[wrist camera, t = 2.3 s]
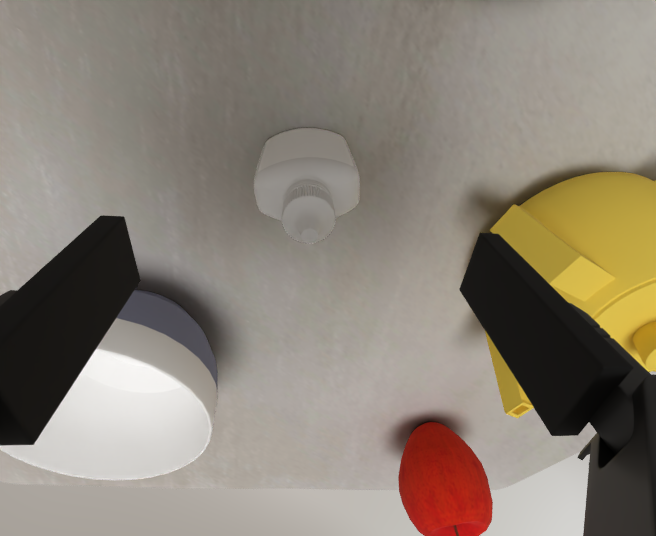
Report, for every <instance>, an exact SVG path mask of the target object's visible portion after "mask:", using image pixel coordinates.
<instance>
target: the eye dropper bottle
mask: <svg viewBox="0 0 656 536" xmlns="http://www.w3.org/2000/svg"><path fill="white" fill-rule="evenodd" d="M254 191H255V198H256V203H257V206H258V208H259V210H260V211H261V212H262V213H263V214H265V215H267V216H269V217H272V218H275V219H278V220H281V221H282V225H283V228H284V230H285V231H286V232H287V234H288V235H289V236H290V237H291V238H293V239H294V240H295V241H298V242H302V243H308V244H309V243H317V242H319V241H322V240H324V238H326V237H327V236H328V235H330V233H331V232H332V230H333V228H334V226H335V223H336V222H335V221H336V218H337V217H339V216H342V215H344V214H346V213H348V212H349V211H351V210H352V209H354V208H355V207H356V206H357V205H358V202H359V197H360V177H359V173H358V170H357V167H356V164H355V161H354V159H353V156H352V154H351V151H350V149H349V146H348V144H347V141H346V139H345V138H344V137H343V136H341V135H339V134H337V133H335V132H332V131H328V130H324V129H319V128H297V129H292V130H288V131H285V132H282V133H279V134H277V135H275V136H273V137H271V138H270V139H268V140H267V141H266V142H265V144H264V147H263V150H262V153H261V156H260V159H259V162H258V165H257V169H256V173H255V177H254Z"/></svg>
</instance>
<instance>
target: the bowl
mask: <svg viewBox="0 0 656 536" xmlns="http://www.w3.org/2000/svg"><path fill="white" fill-rule="evenodd" d="M217 399H218V394H217V366H216V360H215V357H214V355H213V352H212V350H211V348H210V345H209V343H208V340H207V338H206V336H205V334H204V332H203V330H202V329H201V328H200V326H199V325H198V324H197V322H196V321H195V320H194V319H192V318H191V317H190V316H189V315H188V313H187V312H186V311H185V310H184V309H183V308H182V307H181V306H179V305H178V304H177V303H175V302H173V301H172V300H170V299H168V298H166V297H164V296H162V295H159V294H155V293H152V292H148V291H141V290H134V292H133V293H132V295H131V296H130V298H129V299H128V301H127V302H126V304H125V305H124V307H123V308H122V310H121V311H120V313H119V315H118V316H117V318H116V319H115V321H114V322H113V324H112V325H111V327H110V328H109V330H108V331H107V333H106V334H105V336H104V338H103V339H102V341H101V342H100V344H99V345H98V347H97V348H96V350H95V351H94V353H93V354H92V356H91V358H90V359H89V361H88V362H87V364H86V365H85V367H84V368H83V370H82V371H81V373H80V374H79V376H78V377H77V379H76V381H75V382H74V384H73V385H72V387H71V388H70V390H69V391H68V393H67V394H66V396H65V397H64V399H63V400H62V402H61V404H60V405H59V407H58V408H57V410H56V411H55V413H54V414H53V416H52V417H51V419H50V420H49V422H48V423H47V425H46V427H45V428H44V430H43V431H42V433H41V434H40V436H39V437H38V439H37V440H36V442H35V443H34V445H1V446H0V450H2V451H3V452H5V453H7V454H8V455H10V456H12V457H14V458H17V459H19V460H21V461H23V462H26V463H28V464H30V465H33V466H36V467H39V468H43V469H46V470H49V471H52V472H56V473H61V474H65V475H69V476H74V477H81V478H88V479H99V480H135V479H142V478H150V477H155V476H159V475H163V474H167V473H170V472H172V471H175V470H177V469H180V468H182V467H184V466H186V465H187V464H189V463H191V462H192V461H194V460H195V459H196V458H197V457H198V456H199V455H200V454H201V453H202V452H203V451H204V450H205V449H206V447H207V445H208V443H209V441H210V440H211V438H212V431H213V425H214V418H215V412H216V405H217Z"/></svg>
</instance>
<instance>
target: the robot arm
mask: <svg viewBox="0 0 656 536" xmlns="http://www.w3.org/2000/svg"><path fill="white" fill-rule="evenodd" d="M139 282H140V277H139V273H138V269H137V265H136V261H135V257H134V253H133V249H132V245H131V242H130V238H129V234H128V230H127V226H126V222H125V218H124V217H121V216H100V217H99V218H98V219H97V220H95V221H94V222H93V223H92V224H91V225H90V226H89V227H88V228H87V229H85V230H84V231H83V232H82V233H81V234H80V235H79V236H78V237H77V238H75V239H74V240H73V241H72V242H71V243H70V244H69V245H68V246H67V247H65V248H64V249H63V250H62V251H61V252H60V253H59V254H58V255H57V256H55V257H54V258H53V259H52V260H51V261H50V262H49V263H48V264H47V265H45V266H44V267H43V268H42V269H41V270H40V271H39V272H38V273H37V274H35V275H34V276H33V277H32V278H31V279H30V280H29V281H28V282H27V283H25V284H24V285H23V286H22V287H21V288H20V289H19V290H18V291H14V290H10V291H8V292H6V293H4V294H2V295H1V296H0V446H1V445H34V443H35V442H36V440H37V439H38V437H39V436H40V434H41V433H42V431H43V430H44V428H45V427H46V425H47V423H48V422H49V420H50V419H51V417H52V416H53V414H54V413H55V411H56V410H57V408H58V407H59V405H60V404H61V402H62V400H63V399H64V397H65V396H66V394H67V393H68V391H69V390H70V388H71V387H72V385H73V384H74V382H75V381H76V379H77V377H78V376H79V374H80V373H81V371H82V370H83V368H84V367H85V365H86V364H87V362H88V361H89V359H90V358H91V356H92V354H93V353H94V351H95V350H96V348H97V347H98V345H99V344H100V342H101V341H102V339H103V338H104V336H105V334H106V333H107V331H108V330H109V328H110V327H111V325H112V324H113V322H114V321H115V319H116V318H117V316H118V315H119V313H120V311H121V310H122V308H123V307H124V305H125V304H126V302H127V301H128V299H129V298H130V296H131V295H132V293H133V292H134V290H135V288H136V287H137V285H138V284H139ZM460 291H461V293H462V294H463V296H464V298H465V299H466V301H467V302H468V304H469V306H470V307H471V309H472V310H473V312H474V313H475V315H476V317H477V318H478V320H479V321H480V323H481V325H482V326H483V328H484V329H485V331H486V332H487V334H488V336H489V337H490V339H491V340H492V342H493V344H494V345H495V347H496V348H497V350H498V351H499V353H500V355H501V356H502V358H503V359H504V361H505V362H506V364H507V366H508V367H509V369H510V370H511V372H512V374H513V375H514V377H515V378H516V380H517V381H518V383H519V385H520V386H521V388H522V389H523V391H524V393H525V394H526V396H527V397H528V399H529V400H530V402H531V404H532V405H533V407H534V408H535V410H536V412H537V413H538V415H539V416H540V418H541V419H542V421H543V423H544V424H545V426H546V427H547V429H548V431H549V432H550V434H551V435H552V436H569V435H578V434H579V433H580V432H581V431H582V429H583V428H584V427H585V426H586V425H587V423H588V422H590V424H591V425H592V426H593V428H594V429H595V430H596V432H597V434H596V435H595V436H594V437H593V438H592V439H591V440H590V442H589V443H588V444H587V445H586V446H585V447H584V448H583V450H582V451H581V452H580V454H579V456H578V458H579V459H581V460H583V459H584V458H585V456H586V455H588V454H590V462H589V475H588V487H587V498H586V510H585V522H584V535H583V536H656V375H651V374H650V373H649V372H648V371H647V370H646V369H645V368H644V367H643V366H642V365H641V364H640V363H639V362H637V361H636V360H635V359H634V358H633V357H632V356H631V355H630V354H629V353H628V352H627V351H626V350H625V349H624V348H623V347H622V346H621V345H620V344H619V343H618V342H617V341H616V340H615V339H614V338H610V335H609V334H608V333H607V332H606V331H605V330H604V329H603V328H600V325H599V324H598V323H597V322H596V321H595V320H594V319H593V318H592V317H591V316H590V315H589V314H587V313H586V312H584V311H583V310H581V309H580V308H578V307H576V306H575V305H573V304H572V303H568V302H567V301H566V300H565V299H564V298H563V297H562V296H561V295H560V294H559V293H558V292H557V291H556V290H555V289H554V288H553V287H552V286H551V285H550V284H549V283H548V282H547V281H546V280H545V279H544V278H543V277H542V276H541V275H540V274H539V273H538V272H537V271H536V270H535V269H534V268H533V267H532V266H531V265H530V264H529V263H528V262H527V261H526V260H525V259H524V258H523V257H522V256H521V255H520V254H519V253H518V252H516V251H515V250H514V249H513V248H512V247H511V246H510V245H509V244H508V243H507V242H506V241H505V240H504V239H503V238H502V237H501V236H500V235H499V234H492V233H480V234H479V237H478V240H477V243H476V245H475V248H474V251H473V254H472V256H471V259H470V262H469V265H468V267H467V270H466V273H465V276H464V279H463V281H462V284H461V287H460Z"/></svg>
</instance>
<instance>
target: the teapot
mask: <svg viewBox="0 0 656 536" xmlns="http://www.w3.org/2000/svg"><path fill="white" fill-rule="evenodd" d="M490 231H491V232H492V233H493V234H499V235H500V236H501V237H502V238H503V239H504V240H505V241H506V242H507V243H508V244H509V245H510V246H511V247H512V248H513V249H514V250H515V251H516V252H518V253H519V254H520V255H521V256H522V257H523V258H524V259H525V260H526V261H527V262H528V263H529V264H530V265H531V266H532V267H533V268H534V269H535V270H536V271H537V272H538V273H539V274H540V275H541V276H542V277H543V278H544V279H545V280H546V281H547V282H548V283H549V284H550V285H551V286H552V287H553V288H554V289H555V290H556V291H557V292H558V293H559V294H560V295H561V296H562V297H563V298H564V299H565V300H566V301H567V302H568V303H572V304H573V305H575V306H576V307H578V308H580V309H581V310H583V311H584V312H586V313H587V314H589V315H590V316H591V317H592V318H593V319H594V320H595V321H596V322H597V323H598V324H599V325H600V328H603V329H604V330H605V331H606V332H607V333H608V334H609V335H610V338H614V339H615V340H616V341H617V342H618V343H619V344H620V345H621V346H622V347H623V348H624V349H625V350H626V351H627V352H628V353H629V354H630V355H631V356H632V357H633V358H634V359H635V360H636V361H637V362H639V363H640V364H641V365H642V366H643V367H644V368H645V369H646V370H647V371H648V372H651V371H655V372H656V180H655V181H652V180H650V179H648V178H646V177H643V176H640V175H637V174H634V173H627V172H598V173H591V174H586V175H582V176H578V177H574V178H571V179H568V180H566V181H563V182H560V183H558V184H556V185H554V186H552V187H549V188H547V189H545V190H543V191H542V192H540V193H538V194H537V195H535V196H533V197H532V198H530V199H528V200H527V201H526V202H524V203H523V204H522V205H520V206H517V205H515V204H513V206H512V207H511V208H510V209H509V210H508V211H507V212H506V213H505V214H504V215H503V216H502V217H501V218H500V219H499V221H498V222H497V223H496V224H495V225H494V226H493V227H492V228H491V229H490ZM485 333H486V337H487V341H488V345H489V349H490V353H491V358H492V362H493V366H494V370H495V374H496V378H497V382H498V386H499V390H500V394H501V399H502V403H503V407H504V411H505V413H506V414H508V415H511V416H513V417H516V418H519V417H520V416H522V415H523V414H525V413H526V412H528V411H529V410H531V409H532V408H534V407H533V405H532V404H531V402H530V400H529V399H528V397H527V396H526V394H525V393H524V391H523V389H522V388H521V386H520V385H519V383H518V381H517V380H516V378H515V377H514V375H513V374H512V372H511V370H510V369H509V367H508V366H507V364H506V362H505V361H504V359H503V358H502V356H501V355H500V353H499V351H498V350H497V348H496V347H495V345H494V344H493V342H492V340H491V339H490V337H489V336H488V334H487V332H486V331H485Z"/></svg>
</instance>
